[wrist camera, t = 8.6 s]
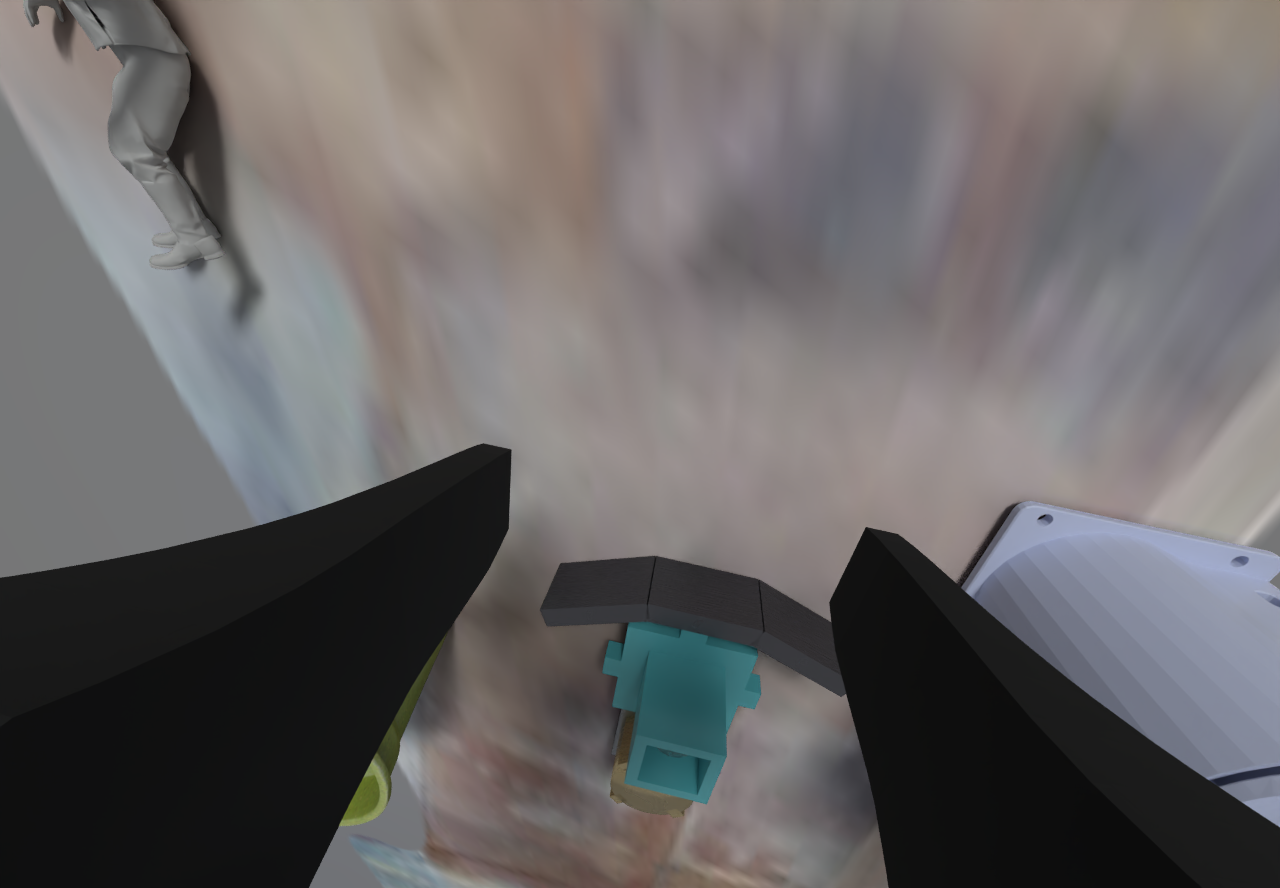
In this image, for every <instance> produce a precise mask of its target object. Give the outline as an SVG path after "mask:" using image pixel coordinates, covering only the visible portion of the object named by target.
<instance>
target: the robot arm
mask: <svg viewBox="0 0 1280 888" xmlns="http://www.w3.org/2000/svg"><path fill="white" fill-rule="evenodd" d="M510 477H511V449H506V448H502V447H497V446H493V445H488V444H484V443H483V444H480V445H477V446H474V447H471V448H468V449H466V450H463V451H461V452H459V453H456V454H454V455H451V456H449V457H447V458H444V459H442V460H440V461H437V462H435V463H433V464H430V465H428V466H426V467H423V468H421V469H419V470H416V471H414V472H411V473H409V474H407V475H404V476H402V477H399V478H397V479H395V480H392V481H390V482H387V483H384V484H382V485H379V486H376V487H374V488H371V489H368V490H366V491H363V492H360V493H358V494H355V495H352V496H350V497H347V498H344V499H342V500H339V501H336V502H334V503H331V504H328V505H325V506H322V507H319V508H316V509H313V510H309V511H306V512H303V513H300V514H297V515H293V516H290V517H287V518H283V519H280V520H276V521H273V522H270V523H266V524H263V525H259V526H255V527H252V528H248V529H244V530H240V531H236V532H232V533H227V534H223V535H219V536H215V537H211V538H206V539H203V540H198V541H194V542H190V543H185V544H181V545H177V546H173V547H169V548H164V549H160V550H155V551H150V552H145V553H140V554H135V555H130V556H125V557H120V558H115V559H110V560H104V561H99V562H94V563H87V564H82V565H76V566H70V567H65V568H59V569H53V570H47V571H42V572H35V573H29V574H23V575H16V576H10V577H3V578H0V888H309V886H310V884H311V882H312V880H313V878H314V876H315V874H316V872H317V870H318V867H319V866H320V863H321V861H322V859H323V857H324V855H325V853H326V851H327V849H328V847H329V845H330V843H331V841H332V839H333V837H334V835H335V833H336V831H337V829H338V827H339V825H340V823H341V821H342V819H343V817H344V815H345V813H346V811H347V809H348V806H349V804H350V802H351V801H352V799H353V797H354V795H355V793H356V791H357V789H358V787H359V785H360V783H361V781H362V779H363V777H364V775H365V773H366V772H367V770H368V768H369V766H370V764H371V762H372V760H373V758H374V756H375V754H376V752H377V750H378V748H379V746H380V744H381V743H382V741H383V739H384V737H385V735H386V733H387V731H388V730H389V728H390V726H391V724H392V722H393V720H394V718H395V717H396V715H397V713H398V711H399V709H400V707H401V706H402V704H403V702H404V700H405V698H406V696H407V694H408V693H409V691H410V689H411V687H412V686H413V684H414V682H415V681H416V679H417V677H418V676H419V674H420V673H421V671H422V669H423V668H424V666H425V664H426V663H427V661H428V660H429V658H430V657H431V655H432V654H433V652H434V651H435V649H436V648H437V646H438V645H439V643H440V642H441V641H442V639H443V638H444V636H445V635H446V633H447V632H448V630H449V629H450V627H451V626H452V624H453V623H454V621H455V620H456V618H457V617H458V615H459V614H460V612H461V611H462V609H463V608H464V606H465V605H466V603H467V602H468V600H469V599H470V597H471V596H472V594H473V593H474V591H475V590H476V588H477V587H478V585H479V584H480V582H481V581H482V579H483V578H484V576H485V574H486V573H487V571H488V570H489V568H490V566H491V564H492V562H493V560H494V558H495V556H496V554H497V552H498V550H499V548H500V546H501V544H502V542H503V540H504V537H505V535H506V533H507V531H508V529H509V504H510ZM1045 514H1046V516H1045V517H1044V518H1042V519H1039V520H1037V519H1038V518H1039V517H1040V516H1042V515H1045ZM1279 572H1280V557H1279V556H1277V555H1276V554H1274V553H1272V552H1270V551H1266V550H1261V549H1256V548H1252V547H1247V546H1242V545H1238V544H1233V543H1228V542H1223V541H1219V540H1214V539H1209V538H1204V537H1200V536H1195V535H1190V534H1186V533H1181V532H1176V531H1171V530H1167V529H1162V528H1157V527H1152V526H1148V525H1143V524H1138V523H1133V522H1129V521H1124V520H1119V519H1115V518H1110V517H1105V516H1100V515H1096V514H1091V513H1086V512H1081V511H1077V510H1072V509H1067V508H1062V507H1058V506H1053V505H1048V504H1044V503H1039V502H1034V501H1026V502H1022V503H1020V504H1018V505H1016V506H1015V507H1014V508H1013V510H1012V511H1011V513H1010V514H1009V516H1008V517H1007V519H1006V520H1005V522H1004V523H1003V525H1002V526H1001V528H1000V529H999V531H998V532H997V534H996V536H995V537H994V539H993V540H992V542H991V543H990V545H989V546H988V548H987V549H986V551H985V552H984V554H983V555H982V557H981V558H980V560H979V561H978V563H977V564H976V566H975V567H974V569H973V570H972V572H971V574H970V575H969V577H968V578H967V580H966V581H965V583H964V584H963V586H962V587H960V586H958V585H957V584H956V583H955V582H954V581H953V580H952V579H951V578H950V577H948V576H947V575H946V574H945V573H944V572H943V571H942V570H941V569H939V568H938V567H937V566H936V565H935V564H934V563H933V562H932V561H930V560H929V559H928V558H927V557H926V556H925V555H923V554H922V553H921V552H920V551H919V550H918V549H916V548H915V547H914V546H913V545H911V544H910V543H909V542H908V541H906V540H905V539H904V538H902V537H901V536H900V535H898V534H895V533H891V532H886V531H881V530H877V529H872V528H868V527H866V528H865V530H864V532H863V534H862V536H861V538H860V541H859V543H858V545H857V547H856V549H855V551H854V553H853V555H852V557H851V559H850V561H849V563H848V565H847V567H846V569H845V571H844V573H843V575H842V577H841V579H840V581H839V584H838V586H837V588H836V590H835V592H834V594H833V596H832V598H831V600H830V602H829V603H830V613H831V622H832V631H833V638H834V645H835V652H836V656H837V660H838V664H839V668H840V672H841V675H842V679H843V683H844V687H845V691H846V695H847V698H848V702H849V706H850V709H851V713H852V717H853V721H854V724H855V728H856V732H857V735H858V739H859V743H860V747H861V750H862V754H863V758H864V761H865V765H866V769H867V772H868V777H869V781H870V785H871V790H872V794H873V799H874V803H875V808H876V814H877V820H878V826H879V832H880V838H881V843H882V849H883V855H884V861H885V867H886V873H887V880H888V887H889V888H1280V590H1279V589H1278V588H1276V587H1275V586H1274V585H1272V584H1270V583H1269V581H1270V580H1271V579H1273V578H1274V577H1275V576H1276V575H1277V574H1278V573H1279Z"/></svg>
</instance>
